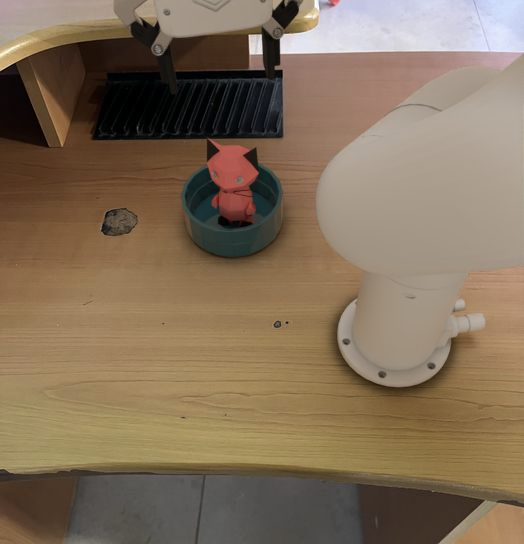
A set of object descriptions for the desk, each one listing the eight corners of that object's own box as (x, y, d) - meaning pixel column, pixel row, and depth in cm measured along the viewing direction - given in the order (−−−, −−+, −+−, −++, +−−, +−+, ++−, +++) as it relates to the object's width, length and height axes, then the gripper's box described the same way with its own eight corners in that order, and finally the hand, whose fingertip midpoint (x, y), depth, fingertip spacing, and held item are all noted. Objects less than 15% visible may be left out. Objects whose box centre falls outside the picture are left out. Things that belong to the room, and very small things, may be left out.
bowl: (272, 181, 79) (272, 152, 74) (291, 250, 72) (291, 222, 68) (182, 195, 78) (176, 166, 74) (192, 265, 71) (186, 238, 67)
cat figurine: (203, 231, 74) (191, 156, 63) (221, 194, 77) (212, 117, 67) (255, 242, 72) (251, 168, 62) (271, 205, 76) (270, 128, 65)
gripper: (80, -100, 40) (137, 114, 54) (322, -130, 41) (314, 89, 55) (80, -141, 44) (133, 69, 58) (301, -168, 45) (299, 46, 59)
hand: (221, 79), depth 57 cm, fingers open, 9 cm apart
